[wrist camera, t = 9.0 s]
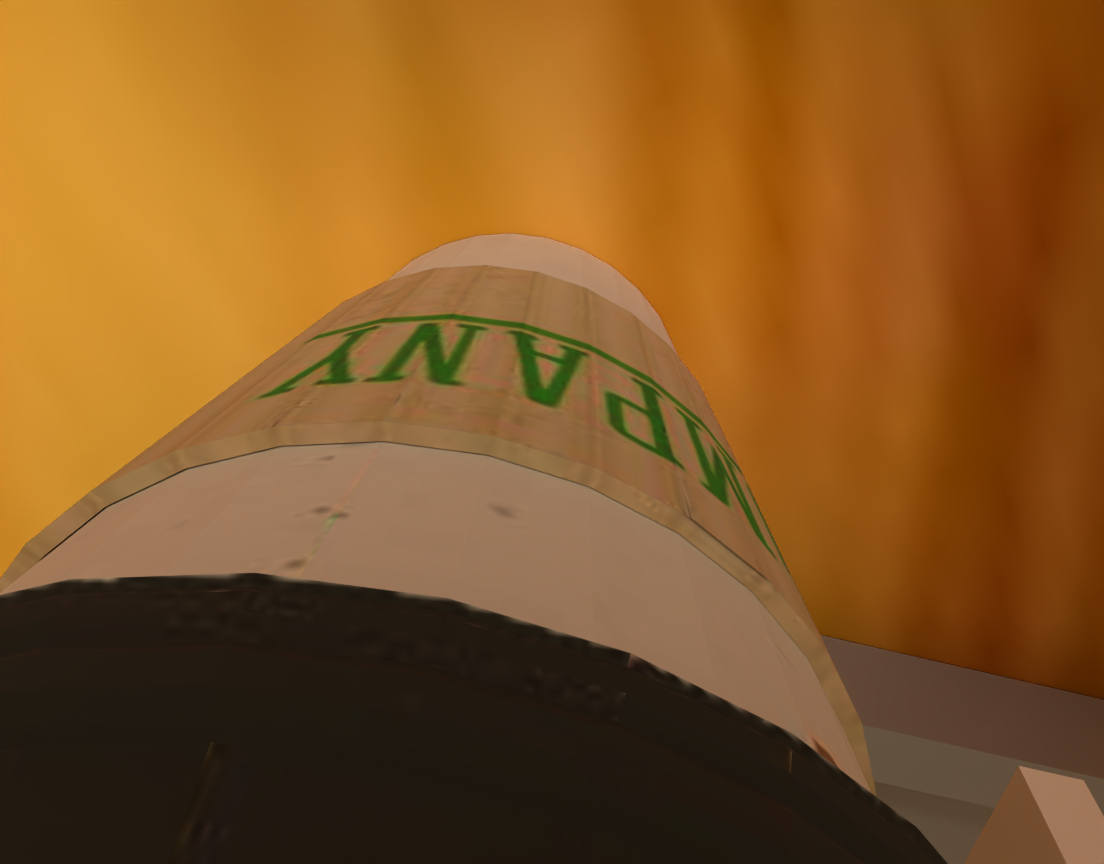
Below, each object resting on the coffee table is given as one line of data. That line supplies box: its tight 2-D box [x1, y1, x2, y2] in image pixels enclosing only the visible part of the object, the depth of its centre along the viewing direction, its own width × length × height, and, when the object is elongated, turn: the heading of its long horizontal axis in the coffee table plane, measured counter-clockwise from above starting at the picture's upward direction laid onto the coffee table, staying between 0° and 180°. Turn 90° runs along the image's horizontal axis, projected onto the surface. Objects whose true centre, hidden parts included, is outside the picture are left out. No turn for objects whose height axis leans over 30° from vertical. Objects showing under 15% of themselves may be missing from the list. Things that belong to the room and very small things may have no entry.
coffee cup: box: [0, 233, 948, 864], centre depth 12 cm, size 10×10×15 cm
